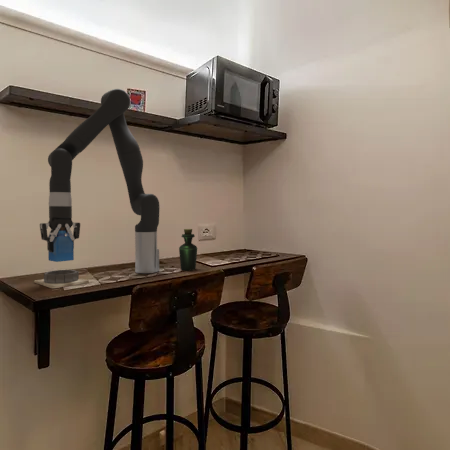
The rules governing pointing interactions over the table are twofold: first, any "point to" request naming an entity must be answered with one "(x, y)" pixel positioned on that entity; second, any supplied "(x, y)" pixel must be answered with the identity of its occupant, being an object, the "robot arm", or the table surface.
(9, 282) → the table surface
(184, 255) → the potion bottle
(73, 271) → the hub board
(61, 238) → the perfume bottle
